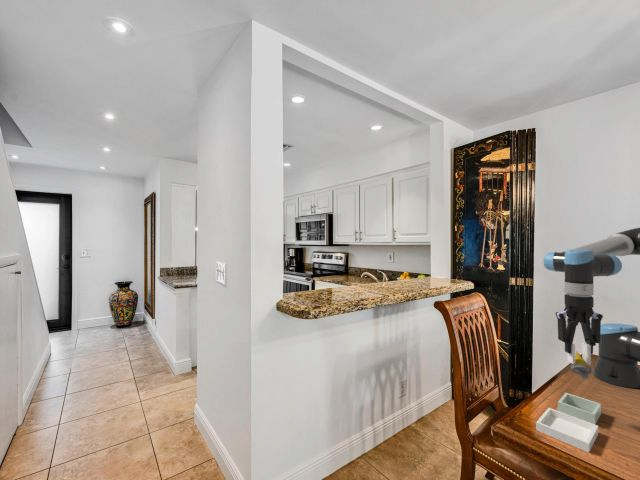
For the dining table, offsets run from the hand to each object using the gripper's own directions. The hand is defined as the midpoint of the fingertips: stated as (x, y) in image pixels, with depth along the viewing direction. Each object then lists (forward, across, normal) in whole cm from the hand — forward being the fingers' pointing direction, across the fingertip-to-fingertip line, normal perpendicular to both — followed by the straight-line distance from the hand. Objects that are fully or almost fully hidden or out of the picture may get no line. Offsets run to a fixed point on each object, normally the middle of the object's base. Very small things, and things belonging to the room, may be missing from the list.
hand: (578, 362), depth 102 cm
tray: (+18, -11, -11) cm, 23 cm away
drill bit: (+4, 0, 0) cm, 4 cm away
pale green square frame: (+18, 0, 0) cm, 18 cm away
